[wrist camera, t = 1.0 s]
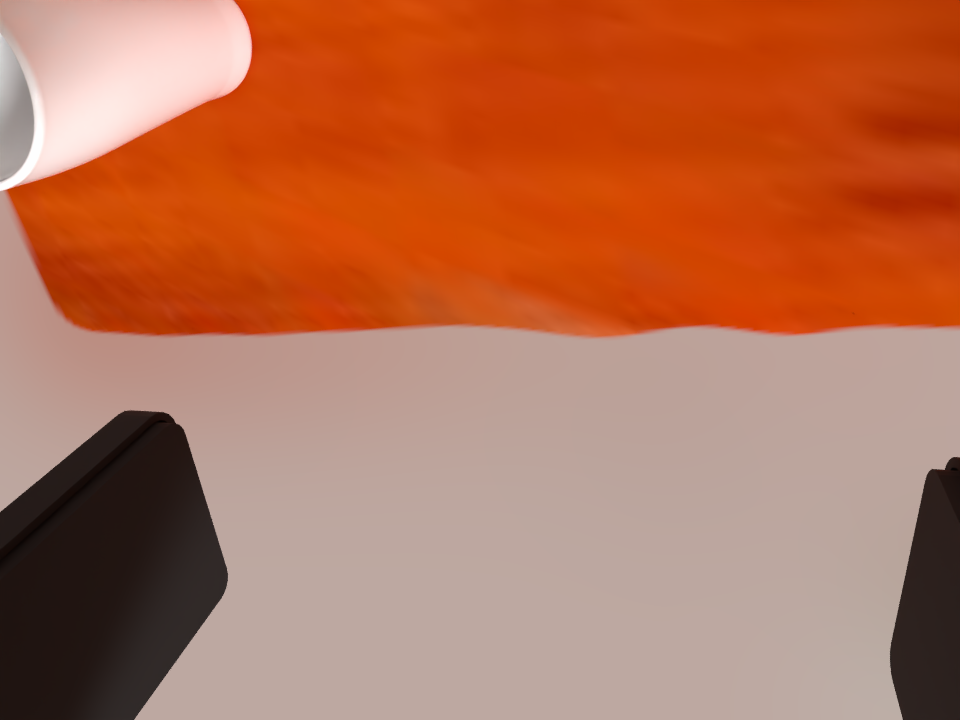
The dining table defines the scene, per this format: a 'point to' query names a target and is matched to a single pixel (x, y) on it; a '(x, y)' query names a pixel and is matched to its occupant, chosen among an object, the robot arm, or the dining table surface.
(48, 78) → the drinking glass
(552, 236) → the dining table surface
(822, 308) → the dining table surface
